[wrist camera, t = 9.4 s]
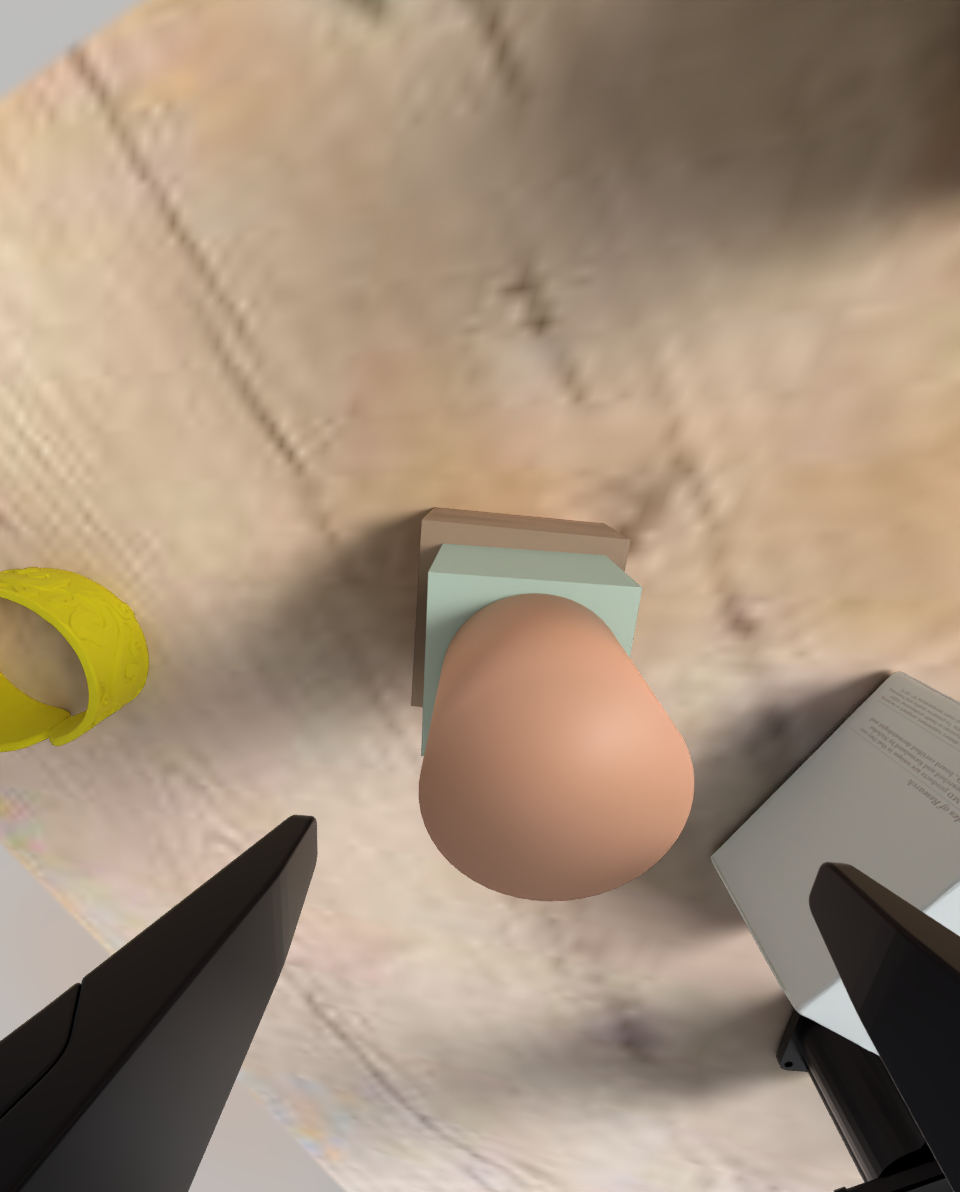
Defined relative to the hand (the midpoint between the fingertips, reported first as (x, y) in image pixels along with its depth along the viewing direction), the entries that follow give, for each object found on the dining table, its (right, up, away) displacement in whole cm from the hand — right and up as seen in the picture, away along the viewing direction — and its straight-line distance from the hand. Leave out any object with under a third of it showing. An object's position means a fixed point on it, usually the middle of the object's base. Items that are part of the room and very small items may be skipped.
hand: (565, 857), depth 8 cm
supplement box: (+20, -1, +10) cm, 22 cm away
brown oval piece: (0, +2, +5) cm, 5 cm away
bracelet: (-21, +2, +13) cm, 25 cm away
